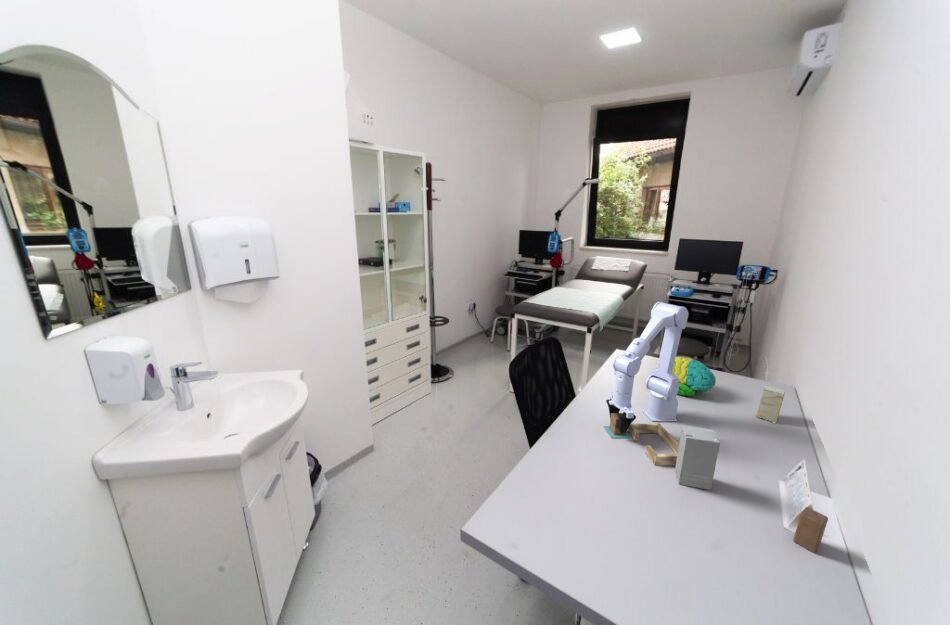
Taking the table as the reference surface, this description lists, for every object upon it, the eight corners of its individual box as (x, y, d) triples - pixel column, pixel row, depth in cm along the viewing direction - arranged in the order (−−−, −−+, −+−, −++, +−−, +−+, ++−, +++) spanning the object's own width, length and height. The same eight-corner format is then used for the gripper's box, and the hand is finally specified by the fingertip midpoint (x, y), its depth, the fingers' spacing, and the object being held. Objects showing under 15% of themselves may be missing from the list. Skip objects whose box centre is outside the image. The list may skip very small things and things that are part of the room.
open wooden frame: (658, 431, 128) (659, 423, 128) (689, 464, 111) (691, 456, 110) (627, 431, 128) (628, 423, 127) (654, 465, 110) (656, 456, 110)
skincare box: (705, 476, 106) (715, 428, 102) (711, 493, 99) (722, 442, 96) (672, 469, 109) (681, 422, 105) (677, 485, 102) (686, 435, 98)
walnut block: (620, 428, 129) (622, 413, 128) (625, 434, 125) (627, 419, 124) (609, 428, 129) (611, 413, 127) (613, 434, 125) (616, 419, 124)
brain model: (720, 393, 157) (724, 360, 154) (702, 406, 146) (706, 371, 143) (664, 377, 175) (667, 347, 172) (644, 387, 164) (647, 355, 161)
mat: (622, 426, 131) (622, 425, 131) (631, 438, 124) (631, 437, 124) (603, 426, 130) (603, 426, 130) (611, 438, 124) (611, 437, 124)
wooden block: (792, 541, 85) (800, 513, 83) (797, 533, 87) (806, 505, 85) (814, 554, 82) (824, 525, 80) (819, 545, 84) (829, 516, 82)
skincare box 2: (755, 417, 139) (763, 388, 136) (757, 413, 142) (764, 384, 139) (776, 424, 135) (784, 394, 132) (778, 419, 138) (785, 390, 135)
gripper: (603, 380, 130) (598, 415, 133) (620, 400, 116) (615, 438, 119) (622, 380, 130) (617, 414, 134) (642, 400, 116) (636, 438, 120)
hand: (618, 425), depth 127 cm, fingers open, 7 cm apart
